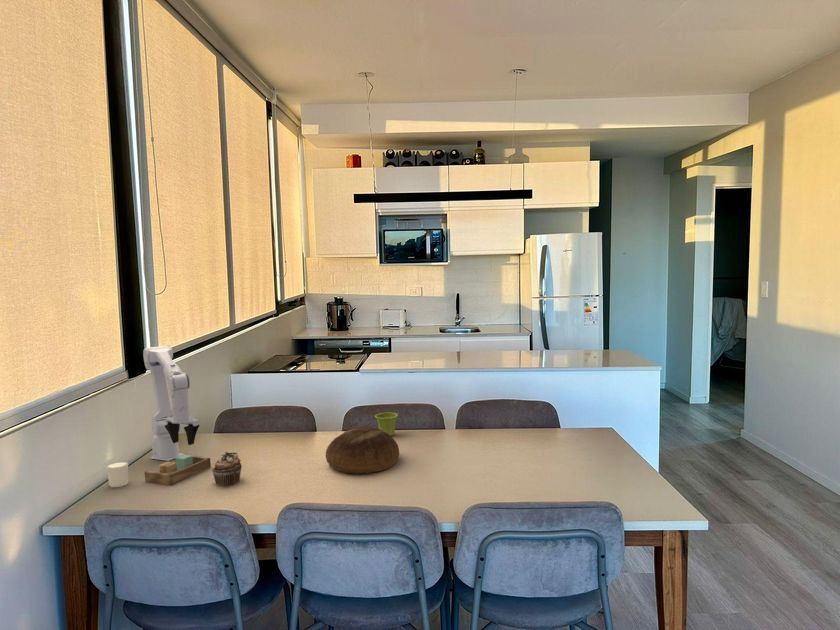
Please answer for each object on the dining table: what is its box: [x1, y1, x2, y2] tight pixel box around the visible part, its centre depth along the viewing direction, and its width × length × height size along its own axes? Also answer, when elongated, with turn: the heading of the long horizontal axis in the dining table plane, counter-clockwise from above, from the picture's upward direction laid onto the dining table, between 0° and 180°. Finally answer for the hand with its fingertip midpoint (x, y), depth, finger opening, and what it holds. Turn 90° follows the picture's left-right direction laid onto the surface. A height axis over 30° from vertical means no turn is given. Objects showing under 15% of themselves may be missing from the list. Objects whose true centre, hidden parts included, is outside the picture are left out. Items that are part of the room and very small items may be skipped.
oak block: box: [158, 461, 177, 474], centre depth 212 cm, size 4×4×5 cm
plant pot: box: [375, 412, 399, 437], centre depth 254 cm, size 9×9×9 cm
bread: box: [325, 426, 400, 475], centre depth 219 cm, size 26×27×13 cm
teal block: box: [175, 454, 193, 471], centre depth 220 cm, size 4×4×5 cm
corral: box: [144, 455, 212, 486], centre depth 215 cm, size 12×19×4 cm, turn 156°
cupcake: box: [211, 451, 242, 487], centre depth 205 cm, size 10×10×10 cm
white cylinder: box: [105, 461, 129, 488], centre depth 207 cm, size 7×7×7 cm
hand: (183, 443), depth 219 cm, fingers open, 7 cm apart
